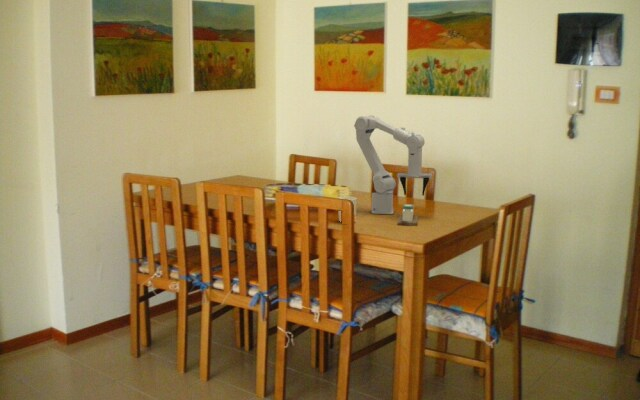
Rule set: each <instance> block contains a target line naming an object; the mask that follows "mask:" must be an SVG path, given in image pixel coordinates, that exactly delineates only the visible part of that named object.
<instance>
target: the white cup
mask: <svg viewBox="0 0 640 400" xmlns="http://www.w3.org/2000/svg"><path fill="white" fill-rule="evenodd" d="M338 198H340V199H348V200H351V201H352V202H353V204H354V214H355V217H356V216H357V204H358V203H357V202H358V201H357V200H358V198H357V197H356V196H355V197H354V196H339V197H338ZM337 212H338V222H339V221H340V222H339V223H341V211H337Z"/></svg>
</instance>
